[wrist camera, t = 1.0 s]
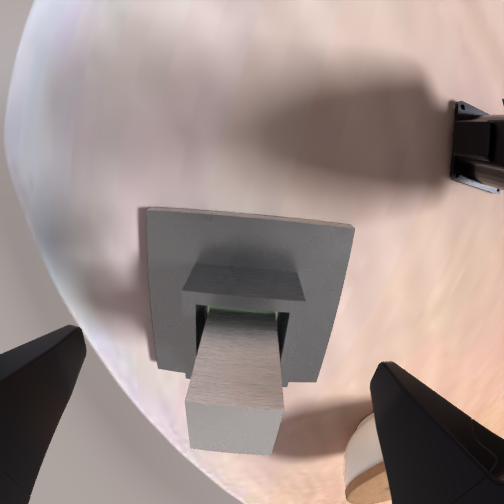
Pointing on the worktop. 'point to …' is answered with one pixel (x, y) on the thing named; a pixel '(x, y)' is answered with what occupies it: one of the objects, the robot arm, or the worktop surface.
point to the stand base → (245, 281)
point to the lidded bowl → (365, 466)
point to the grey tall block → (236, 383)
